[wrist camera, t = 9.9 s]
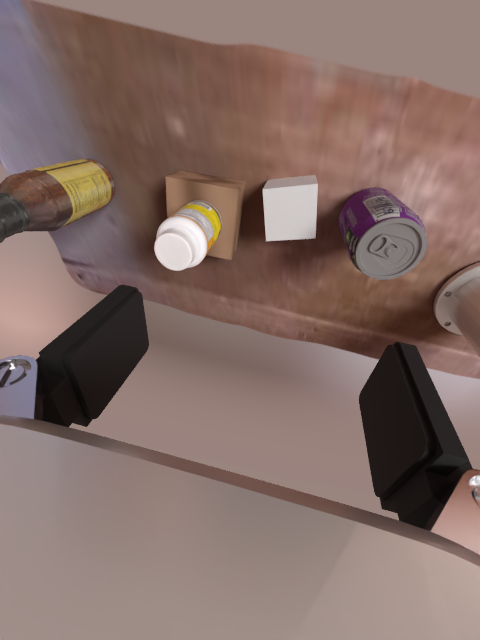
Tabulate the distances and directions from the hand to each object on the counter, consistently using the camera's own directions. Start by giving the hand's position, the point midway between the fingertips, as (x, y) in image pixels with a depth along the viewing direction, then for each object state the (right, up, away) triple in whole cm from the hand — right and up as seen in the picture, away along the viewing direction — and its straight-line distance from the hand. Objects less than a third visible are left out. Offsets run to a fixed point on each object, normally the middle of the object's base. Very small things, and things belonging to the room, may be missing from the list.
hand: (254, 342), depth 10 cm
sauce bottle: (-21, +21, +29) cm, 42 cm away
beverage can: (+16, +15, +25) cm, 33 cm away
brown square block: (-5, +17, +28) cm, 33 cm away
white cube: (+6, +17, +26) cm, 31 cm away
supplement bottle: (-5, +14, +24) cm, 29 cm away
